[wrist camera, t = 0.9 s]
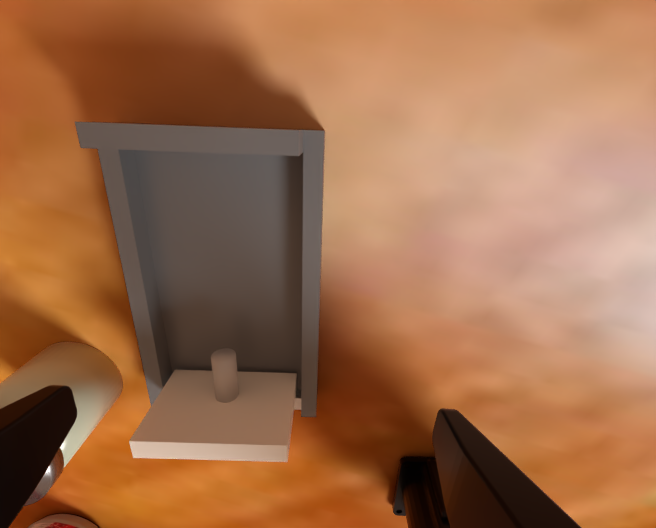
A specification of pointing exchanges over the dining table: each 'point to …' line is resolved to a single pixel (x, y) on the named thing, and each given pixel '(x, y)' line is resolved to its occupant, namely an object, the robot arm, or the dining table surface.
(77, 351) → the jar
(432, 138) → the dining table surface
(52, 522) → the soda can
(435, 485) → the robot arm
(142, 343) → the lane
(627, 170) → the dining table surface
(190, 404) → the pusher
